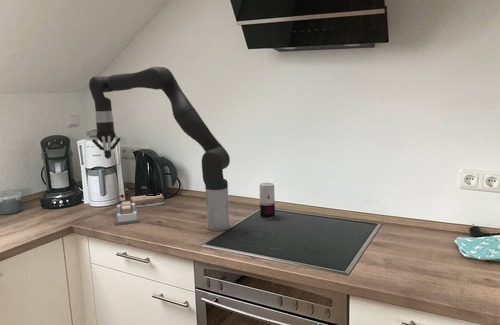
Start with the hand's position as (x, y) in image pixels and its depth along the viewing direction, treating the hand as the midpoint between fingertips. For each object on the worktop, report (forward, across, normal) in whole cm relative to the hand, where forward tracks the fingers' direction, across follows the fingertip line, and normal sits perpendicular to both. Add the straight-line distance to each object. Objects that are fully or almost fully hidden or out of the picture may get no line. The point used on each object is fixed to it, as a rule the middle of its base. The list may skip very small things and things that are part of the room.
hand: (108, 158), depth 186 cm
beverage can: (+27, +66, -33) cm, 79 cm away
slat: (+26, +6, -8) cm, 28 cm away
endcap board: (+27, +6, -8) cm, 29 cm away
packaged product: (+28, +16, +11) cm, 34 cm away
